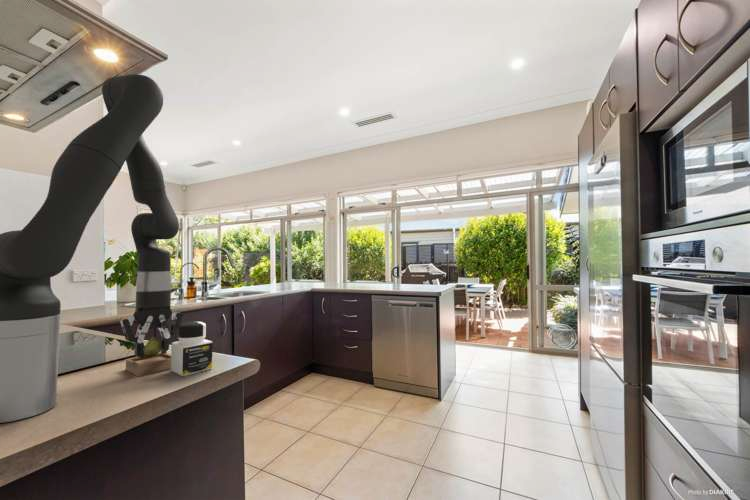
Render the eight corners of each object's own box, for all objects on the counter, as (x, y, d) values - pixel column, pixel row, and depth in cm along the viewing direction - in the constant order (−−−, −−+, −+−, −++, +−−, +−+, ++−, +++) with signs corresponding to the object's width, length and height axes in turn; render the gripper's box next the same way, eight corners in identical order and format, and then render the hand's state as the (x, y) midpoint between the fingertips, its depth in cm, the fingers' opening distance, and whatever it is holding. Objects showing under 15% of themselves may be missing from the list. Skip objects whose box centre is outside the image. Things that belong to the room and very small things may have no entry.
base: (137, 376, 77) (137, 365, 77) (125, 369, 82) (126, 359, 82) (176, 367, 83) (176, 357, 84) (163, 361, 89) (163, 351, 89)
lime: (143, 360, 80) (144, 340, 80) (139, 356, 83) (140, 336, 83) (164, 356, 83) (164, 337, 83) (159, 352, 86) (160, 334, 86)
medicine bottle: (182, 376, 77) (183, 326, 77) (170, 370, 81) (171, 323, 81) (212, 369, 82) (213, 322, 83) (199, 363, 87) (200, 319, 87)
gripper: (178, 286, 91) (176, 347, 91) (115, 289, 80) (113, 359, 79) (189, 287, 87) (188, 351, 86) (124, 291, 76) (122, 364, 75)
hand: (152, 354), depth 83 cm, fingers closed on lime, 4 cm apart
